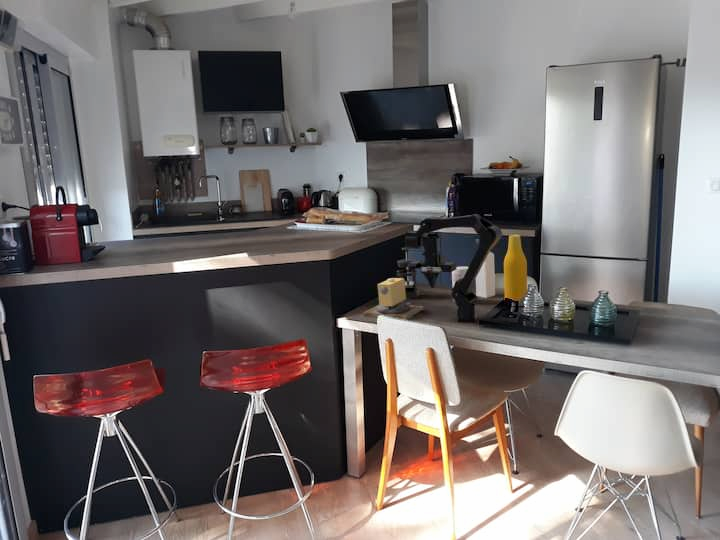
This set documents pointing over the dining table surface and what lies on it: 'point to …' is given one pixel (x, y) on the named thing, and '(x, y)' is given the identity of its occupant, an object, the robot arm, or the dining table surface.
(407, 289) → the french press
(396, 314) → the level base
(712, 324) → the dining table surface
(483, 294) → the milk
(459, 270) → the supplement can
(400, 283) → the yellow boxy piece
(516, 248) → the yellow bottle
